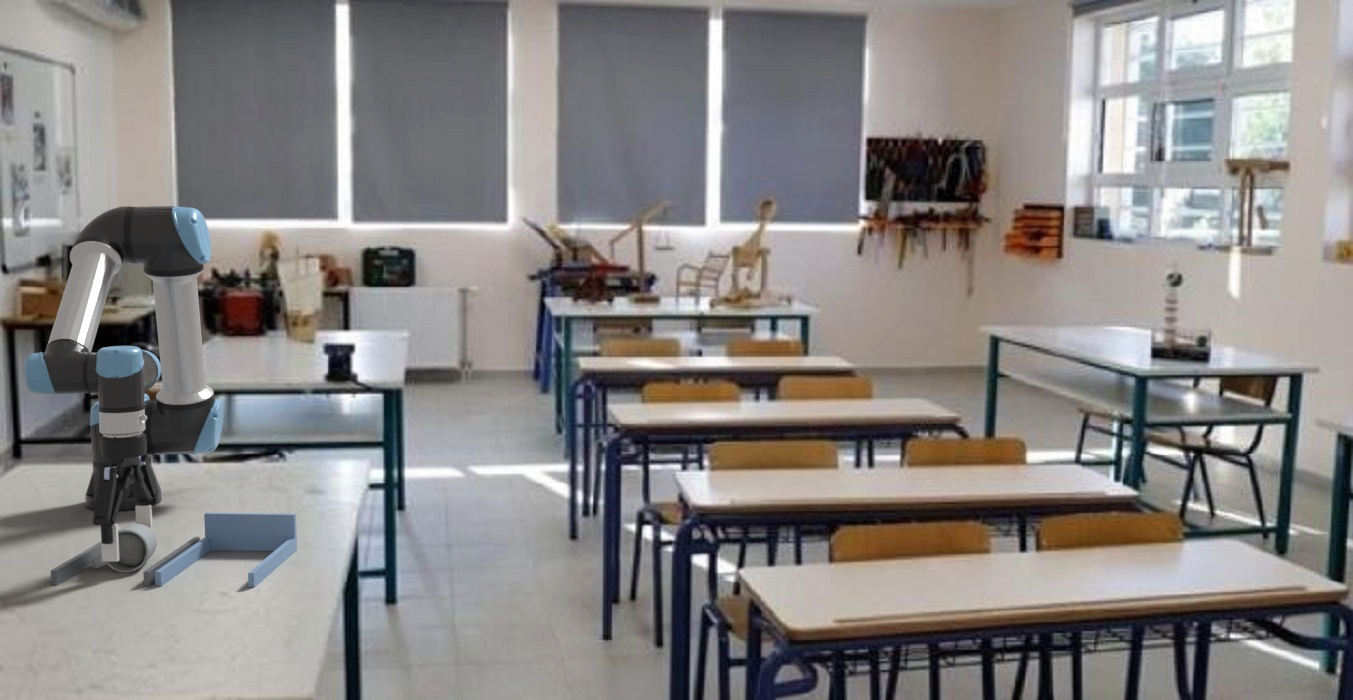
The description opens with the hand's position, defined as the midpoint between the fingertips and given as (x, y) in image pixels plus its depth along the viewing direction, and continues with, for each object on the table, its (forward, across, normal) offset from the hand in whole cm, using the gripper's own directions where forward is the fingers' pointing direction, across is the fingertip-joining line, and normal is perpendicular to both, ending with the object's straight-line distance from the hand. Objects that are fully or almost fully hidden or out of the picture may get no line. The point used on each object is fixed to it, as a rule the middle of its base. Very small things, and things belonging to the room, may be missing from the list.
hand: (128, 550), depth 226 cm
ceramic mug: (+3, 0, +1) cm, 3 cm away
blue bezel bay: (+3, 0, -18) cm, 18 cm away
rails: (+3, 0, 0) cm, 3 cm away
